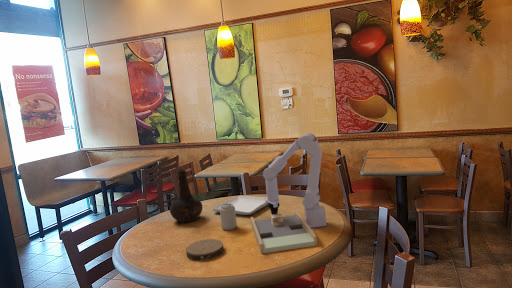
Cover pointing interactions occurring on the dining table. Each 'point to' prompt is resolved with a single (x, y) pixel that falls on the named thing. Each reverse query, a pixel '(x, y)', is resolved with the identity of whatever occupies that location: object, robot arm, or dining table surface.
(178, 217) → the glass bottle
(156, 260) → the dining table surface
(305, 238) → the box
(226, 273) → the dining table surface
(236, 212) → the square plate
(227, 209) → the can
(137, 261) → the dining table surface
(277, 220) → the maple block
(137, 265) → the dining table surface
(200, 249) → the grey brown round disc
